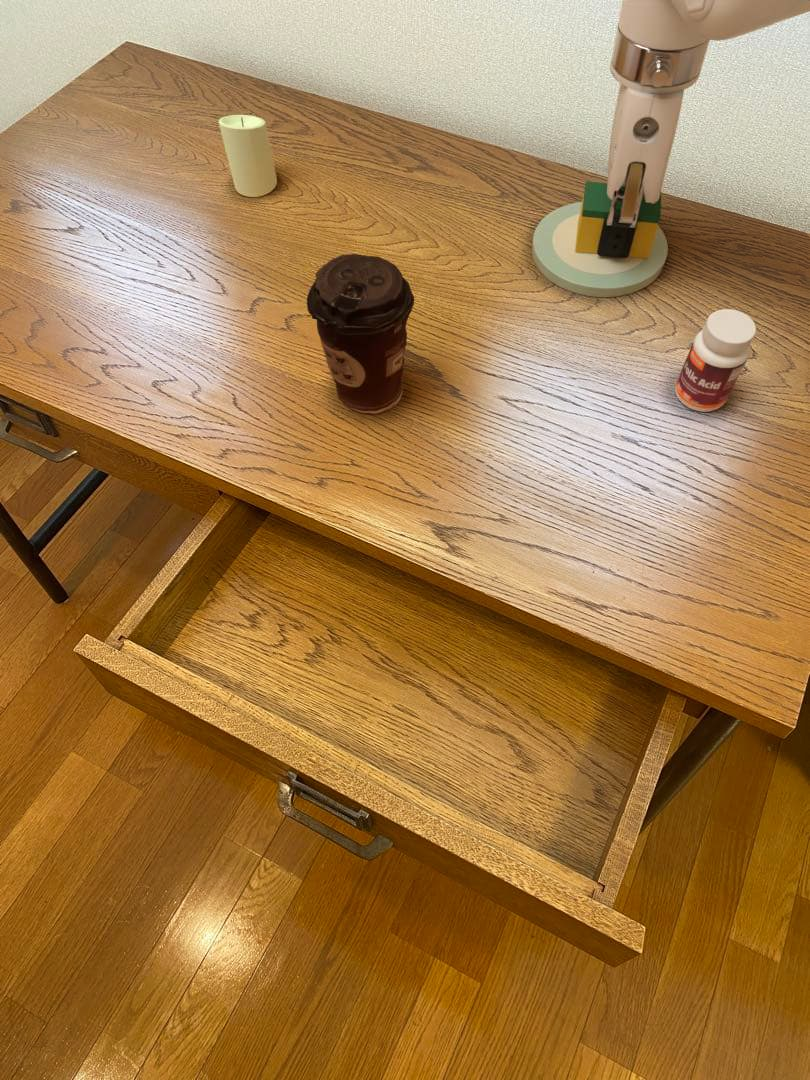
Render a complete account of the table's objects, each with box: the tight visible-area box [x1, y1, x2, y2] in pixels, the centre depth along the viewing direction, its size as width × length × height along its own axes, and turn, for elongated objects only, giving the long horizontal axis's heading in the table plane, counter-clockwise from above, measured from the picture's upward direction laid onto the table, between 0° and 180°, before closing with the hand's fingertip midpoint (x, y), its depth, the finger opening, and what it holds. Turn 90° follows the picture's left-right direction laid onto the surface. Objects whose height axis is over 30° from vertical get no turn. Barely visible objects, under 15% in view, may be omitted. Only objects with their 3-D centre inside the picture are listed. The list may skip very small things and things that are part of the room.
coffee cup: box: [306, 253, 415, 415], centre depth 65 cm, size 9×8×13 cm
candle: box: [217, 114, 278, 198], centre depth 84 cm, size 5×5×8 cm
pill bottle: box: [674, 308, 757, 413], centre depth 65 cm, size 5×5×8 cm
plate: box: [531, 201, 669, 298], centre depth 79 cm, size 14×14×1 cm
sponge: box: [575, 181, 662, 259], centre depth 76 cm, size 8×5×5 cm, turn 79°
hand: (613, 236), depth 78 cm, fingers closed on sponge, 4 cm apart
